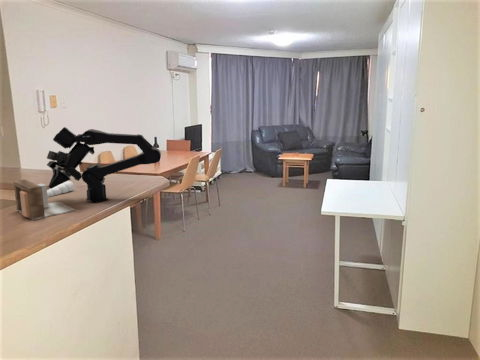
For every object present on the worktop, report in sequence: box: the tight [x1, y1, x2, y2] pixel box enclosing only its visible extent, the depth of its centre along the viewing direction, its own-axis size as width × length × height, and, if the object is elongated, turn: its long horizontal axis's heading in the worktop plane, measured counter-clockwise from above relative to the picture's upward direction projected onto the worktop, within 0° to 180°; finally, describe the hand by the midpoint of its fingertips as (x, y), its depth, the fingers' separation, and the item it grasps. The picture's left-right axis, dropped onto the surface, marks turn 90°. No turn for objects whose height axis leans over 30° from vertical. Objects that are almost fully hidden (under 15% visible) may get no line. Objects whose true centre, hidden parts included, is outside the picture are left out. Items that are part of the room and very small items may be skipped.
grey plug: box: [36, 183, 49, 208], centre depth 143 cm, size 6×4×8 cm, turn 138°
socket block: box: [13, 179, 76, 221], centre depth 142 cm, size 15×15×11 cm
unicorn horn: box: [47, 180, 75, 198], centre depth 162 cm, size 5×24×5 cm, turn 151°
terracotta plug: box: [20, 191, 45, 218], centre depth 135 cm, size 6×4×8 cm, turn 138°
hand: (49, 187), depth 146 cm, fingers closed
